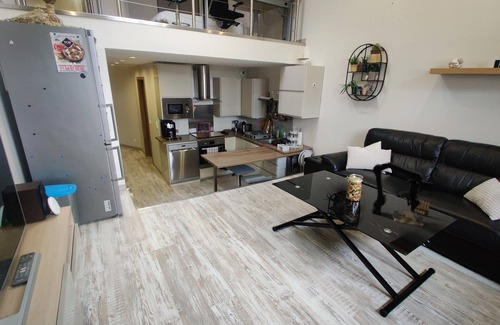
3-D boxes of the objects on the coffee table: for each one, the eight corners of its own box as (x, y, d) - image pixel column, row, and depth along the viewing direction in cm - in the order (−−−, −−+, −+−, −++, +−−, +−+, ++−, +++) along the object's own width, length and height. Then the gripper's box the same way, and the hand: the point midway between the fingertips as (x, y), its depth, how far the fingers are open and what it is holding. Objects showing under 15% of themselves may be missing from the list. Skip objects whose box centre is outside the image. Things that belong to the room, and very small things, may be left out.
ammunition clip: (411, 212, 196) (414, 198, 193) (412, 211, 197) (415, 197, 194) (427, 217, 188) (430, 203, 185) (427, 216, 190) (431, 202, 186)
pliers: (391, 238, 159) (364, 224, 175) (391, 239, 159) (364, 225, 175) (399, 234, 163) (372, 221, 180) (399, 235, 163) (372, 222, 180)
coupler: (402, 216, 185) (403, 210, 184) (410, 218, 183) (412, 212, 182) (403, 219, 181) (405, 213, 179) (412, 221, 179) (413, 215, 177)
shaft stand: (394, 221, 181) (396, 214, 179) (392, 215, 190) (393, 209, 188) (422, 226, 175) (424, 219, 173) (418, 219, 184) (420, 213, 182)
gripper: (398, 183, 186) (395, 201, 191) (404, 191, 169) (400, 212, 174) (415, 185, 183) (411, 204, 187) (422, 194, 166) (418, 214, 170)
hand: (409, 208), depth 179 cm, fingers open, 9 cm apart
